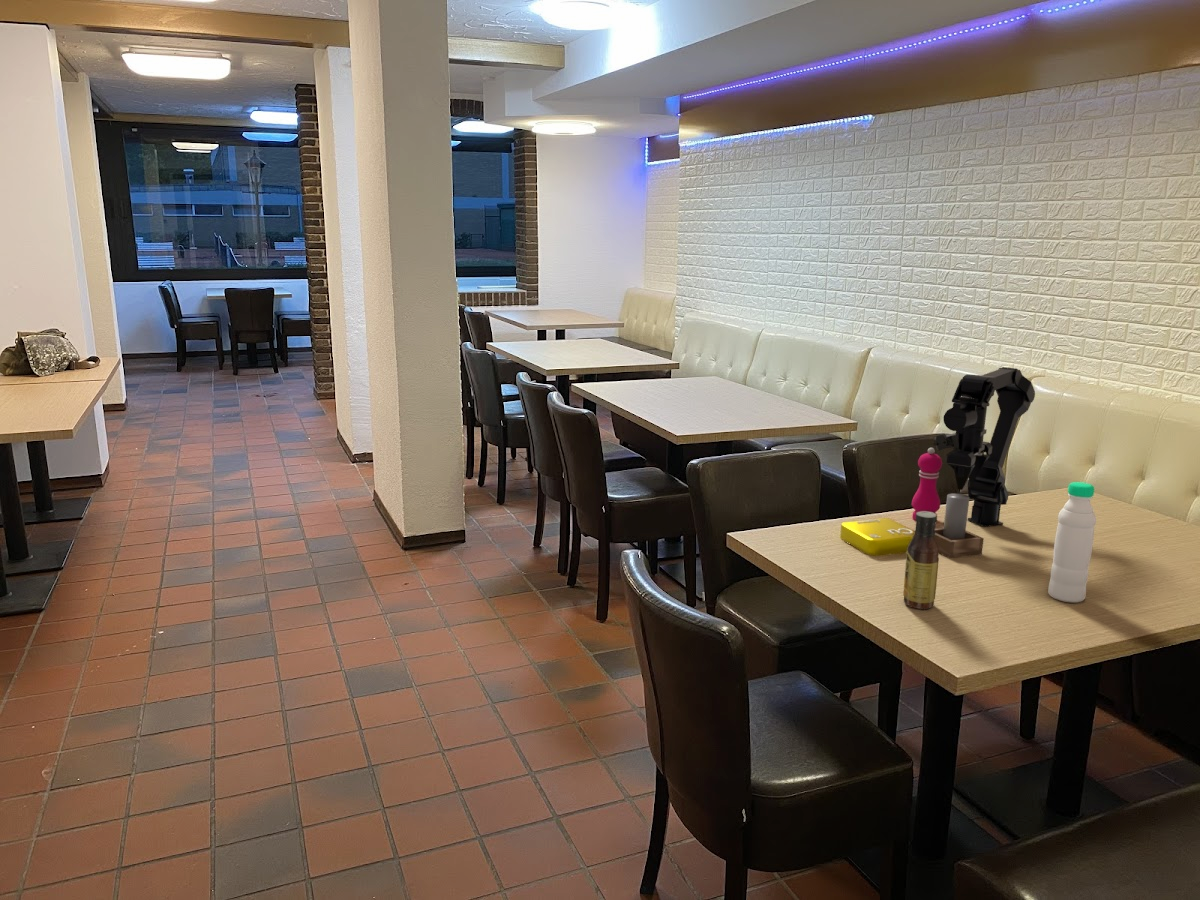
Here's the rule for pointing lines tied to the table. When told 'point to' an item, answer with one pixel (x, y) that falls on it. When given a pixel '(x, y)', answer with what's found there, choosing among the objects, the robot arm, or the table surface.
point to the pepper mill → (927, 484)
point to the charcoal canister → (956, 516)
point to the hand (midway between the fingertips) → (965, 485)
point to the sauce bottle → (922, 563)
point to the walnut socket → (959, 544)
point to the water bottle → (1073, 545)
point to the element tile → (877, 536)
